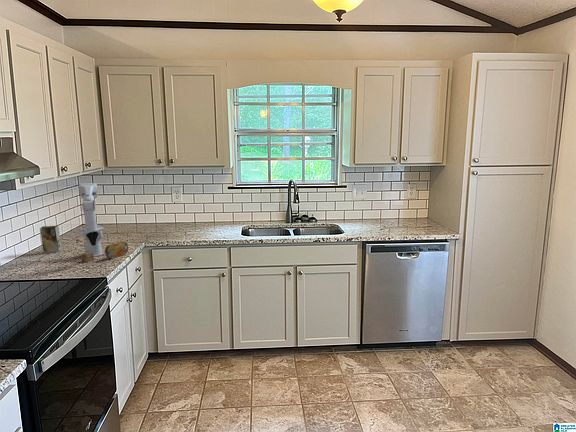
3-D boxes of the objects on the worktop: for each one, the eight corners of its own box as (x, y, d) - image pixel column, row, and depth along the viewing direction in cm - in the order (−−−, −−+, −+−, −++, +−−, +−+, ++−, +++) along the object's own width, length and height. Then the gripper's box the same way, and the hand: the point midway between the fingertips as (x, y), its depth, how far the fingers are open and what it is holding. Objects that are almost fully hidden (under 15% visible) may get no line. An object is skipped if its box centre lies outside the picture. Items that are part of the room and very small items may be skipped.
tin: (108, 260, 243) (106, 246, 241) (104, 259, 244) (103, 245, 243) (129, 253, 256) (127, 240, 255) (125, 253, 258) (124, 239, 256)
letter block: (82, 261, 242) (81, 253, 242) (89, 259, 246) (88, 251, 245) (86, 262, 240) (85, 254, 239) (94, 260, 244) (93, 252, 243)
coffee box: (62, 249, 271) (58, 225, 268) (58, 252, 264) (55, 227, 262) (46, 250, 269) (43, 226, 266) (42, 253, 263) (39, 228, 260)
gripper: (83, 224, 230) (85, 249, 232) (106, 220, 242) (109, 243, 244) (75, 223, 233) (78, 247, 236) (98, 219, 245) (101, 241, 248)
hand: (93, 245), depth 240 cm, fingers closed
